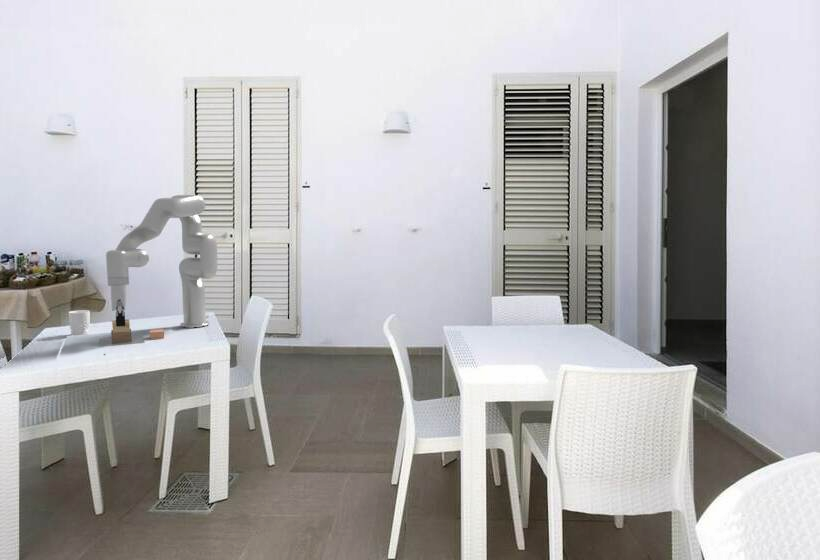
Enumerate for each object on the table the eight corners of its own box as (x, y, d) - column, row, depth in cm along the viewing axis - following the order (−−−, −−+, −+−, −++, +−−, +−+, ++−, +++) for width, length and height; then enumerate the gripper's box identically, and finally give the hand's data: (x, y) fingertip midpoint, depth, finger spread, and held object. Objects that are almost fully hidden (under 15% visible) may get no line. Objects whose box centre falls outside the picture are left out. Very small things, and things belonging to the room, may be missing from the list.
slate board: (99, 341, 230) (99, 338, 229) (143, 337, 237) (143, 334, 237) (98, 349, 215) (98, 346, 215) (144, 345, 223) (144, 342, 223)
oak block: (112, 330, 227) (112, 320, 226) (129, 328, 230) (128, 319, 229) (112, 333, 222) (112, 322, 221) (130, 331, 224) (129, 321, 224)
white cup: (66, 336, 238) (65, 313, 236) (74, 332, 245) (72, 310, 244) (87, 336, 239) (85, 312, 238) (93, 332, 247) (92, 309, 246)
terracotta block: (150, 339, 233) (149, 330, 233) (163, 338, 235) (163, 329, 235) (150, 342, 229) (150, 332, 228) (164, 341, 231) (163, 331, 230)
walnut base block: (111, 339, 228) (111, 330, 227) (131, 338, 231) (130, 328, 230) (111, 343, 221) (111, 333, 221) (131, 341, 225) (131, 331, 224)
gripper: (107, 279, 229) (110, 321, 231) (107, 284, 214) (109, 328, 216) (128, 278, 233) (130, 319, 235) (129, 283, 217) (131, 327, 219)
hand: (120, 323), depth 225 cm, fingers open, 9 cm apart
